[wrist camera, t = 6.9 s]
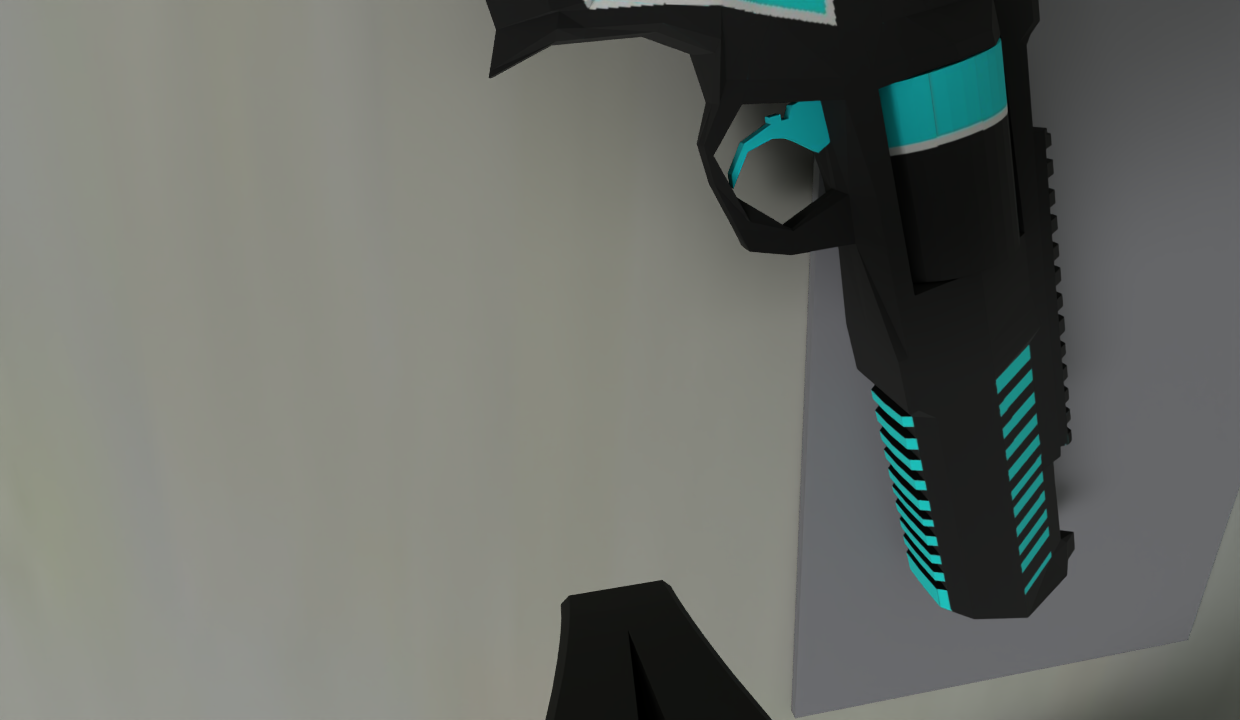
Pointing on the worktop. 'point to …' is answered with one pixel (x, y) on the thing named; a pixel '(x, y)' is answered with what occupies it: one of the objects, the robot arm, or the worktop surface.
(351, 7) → the worktop surface
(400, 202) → the worktop surface
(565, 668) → the robot arm
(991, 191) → the toy gun
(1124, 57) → the mat
